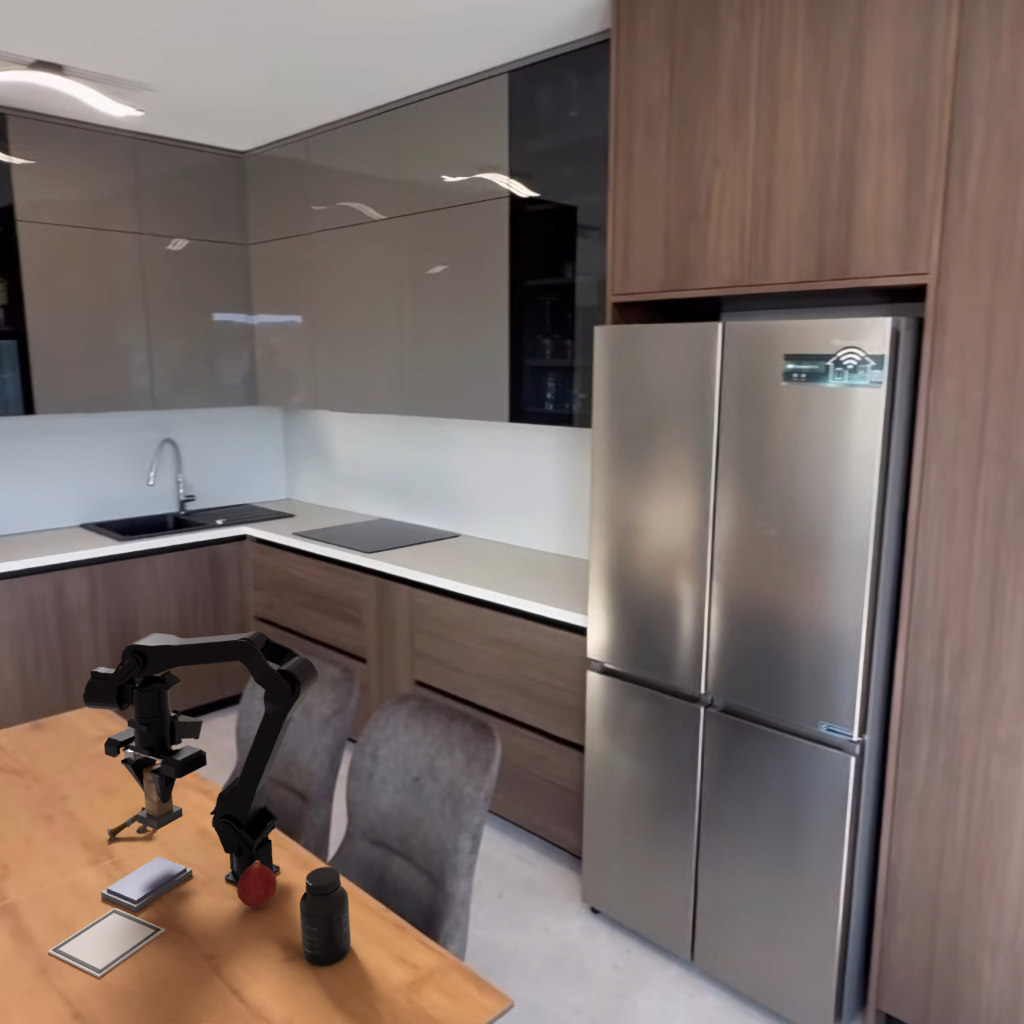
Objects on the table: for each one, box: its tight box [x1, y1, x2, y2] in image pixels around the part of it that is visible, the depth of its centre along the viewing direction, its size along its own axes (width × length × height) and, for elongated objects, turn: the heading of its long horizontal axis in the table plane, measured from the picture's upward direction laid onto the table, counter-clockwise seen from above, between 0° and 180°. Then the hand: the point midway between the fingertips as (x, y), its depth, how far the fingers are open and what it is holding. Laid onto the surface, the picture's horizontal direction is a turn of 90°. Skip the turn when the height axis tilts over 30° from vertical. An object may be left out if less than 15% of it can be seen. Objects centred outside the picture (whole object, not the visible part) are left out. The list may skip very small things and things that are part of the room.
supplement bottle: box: [299, 866, 352, 967], centre depth 118 cm, size 7×7×12 cm
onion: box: [236, 860, 277, 910], centre depth 129 cm, size 6×6×8 cm
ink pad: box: [100, 856, 193, 913], centre depth 135 cm, size 8×11×2 cm
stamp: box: [136, 762, 183, 831], centre depth 138 cm, size 5×5×9 cm
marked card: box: [47, 907, 166, 979], centre depth 121 cm, size 11×11×1 cm
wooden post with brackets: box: [106, 806, 148, 841], centre depth 150 cm, size 2×8×4 cm, turn 120°
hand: (158, 799), depth 139 cm, fingers closed on stamp, 3 cm apart
